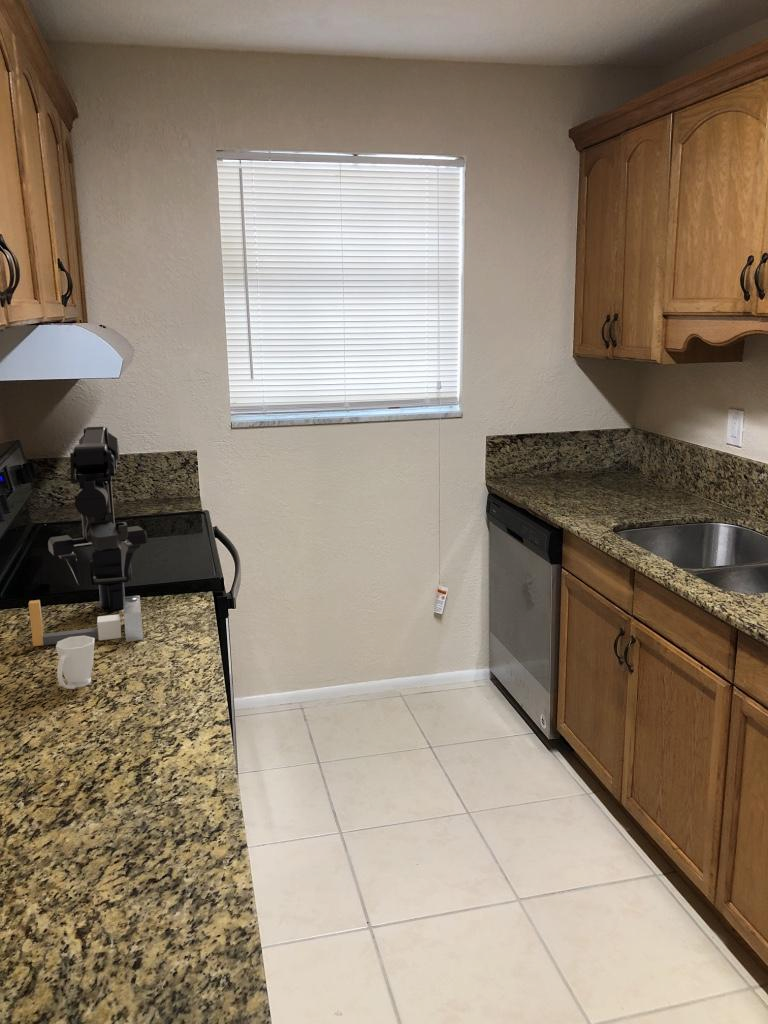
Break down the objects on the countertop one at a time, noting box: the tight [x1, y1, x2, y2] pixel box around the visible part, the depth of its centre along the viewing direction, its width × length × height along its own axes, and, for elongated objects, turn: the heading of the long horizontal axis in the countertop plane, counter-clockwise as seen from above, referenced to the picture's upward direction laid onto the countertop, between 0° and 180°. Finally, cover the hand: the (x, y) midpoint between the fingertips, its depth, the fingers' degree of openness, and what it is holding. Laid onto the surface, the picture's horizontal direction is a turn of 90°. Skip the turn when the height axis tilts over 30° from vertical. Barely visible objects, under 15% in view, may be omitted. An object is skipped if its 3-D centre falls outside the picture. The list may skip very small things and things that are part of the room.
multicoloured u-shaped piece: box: [28, 599, 122, 647], centre depth 174 cm, size 18×4×9 cm, turn 107°
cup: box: [55, 636, 96, 690], centre depth 151 cm, size 7×10×8 cm
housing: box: [123, 595, 144, 643], centre depth 179 cm, size 4×12×6 cm, turn 17°
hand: (102, 580), depth 171 cm, fingers open, 9 cm apart
